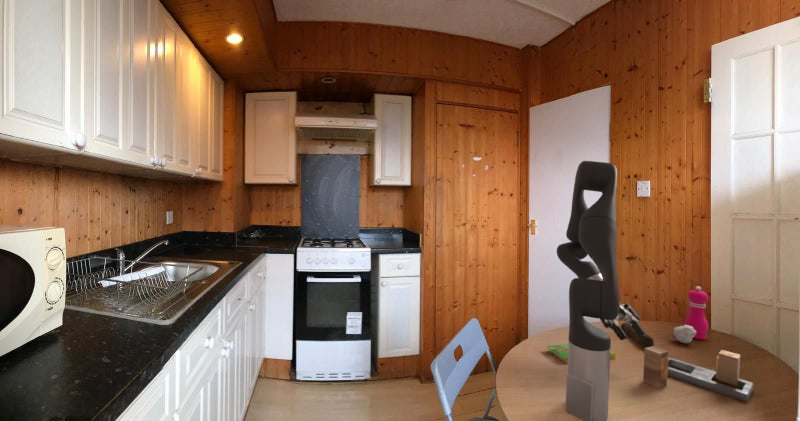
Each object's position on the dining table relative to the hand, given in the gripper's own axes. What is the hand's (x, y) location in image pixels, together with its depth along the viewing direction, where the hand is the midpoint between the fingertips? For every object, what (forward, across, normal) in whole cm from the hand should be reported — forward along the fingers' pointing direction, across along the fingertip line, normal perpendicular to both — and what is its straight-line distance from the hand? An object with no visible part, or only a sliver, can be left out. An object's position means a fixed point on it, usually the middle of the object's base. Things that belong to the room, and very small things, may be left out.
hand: (633, 337), depth 106 cm
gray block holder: (+15, +16, 0) cm, 22 cm away
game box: (-2, -5, +19) cm, 20 cm away
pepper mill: (+1, +54, +15) cm, 56 cm away
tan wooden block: (+12, 0, +3) cm, 13 cm away
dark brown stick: (-2, +28, +19) cm, 34 cm away
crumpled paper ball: (+3, +42, +14) cm, 44 cm away
